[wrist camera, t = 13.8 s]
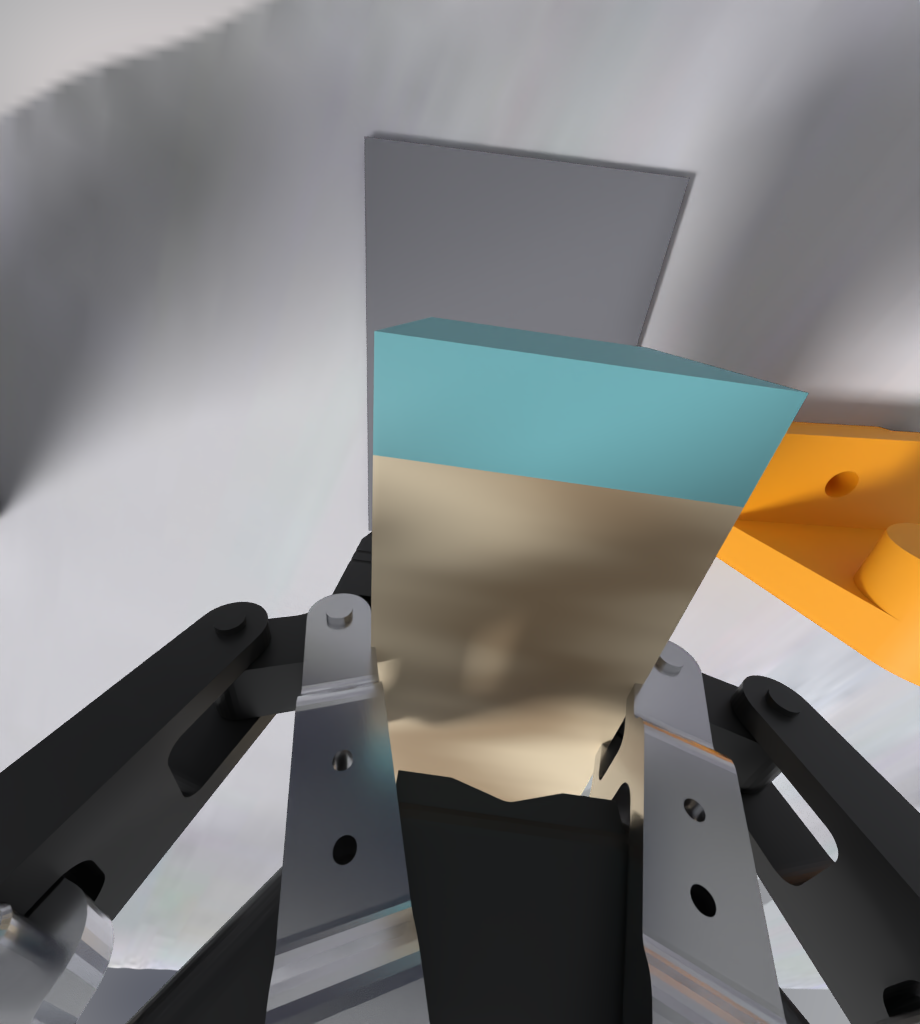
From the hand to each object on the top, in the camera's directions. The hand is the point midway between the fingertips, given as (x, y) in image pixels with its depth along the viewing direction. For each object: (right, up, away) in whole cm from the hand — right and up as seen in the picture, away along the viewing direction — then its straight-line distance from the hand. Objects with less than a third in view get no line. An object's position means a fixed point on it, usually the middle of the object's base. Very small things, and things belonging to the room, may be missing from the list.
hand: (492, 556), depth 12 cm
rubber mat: (+1, +8, +10) cm, 13 cm away
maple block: (-1, -8, +2) cm, 8 cm away
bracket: (+19, +3, +11) cm, 23 cm away
